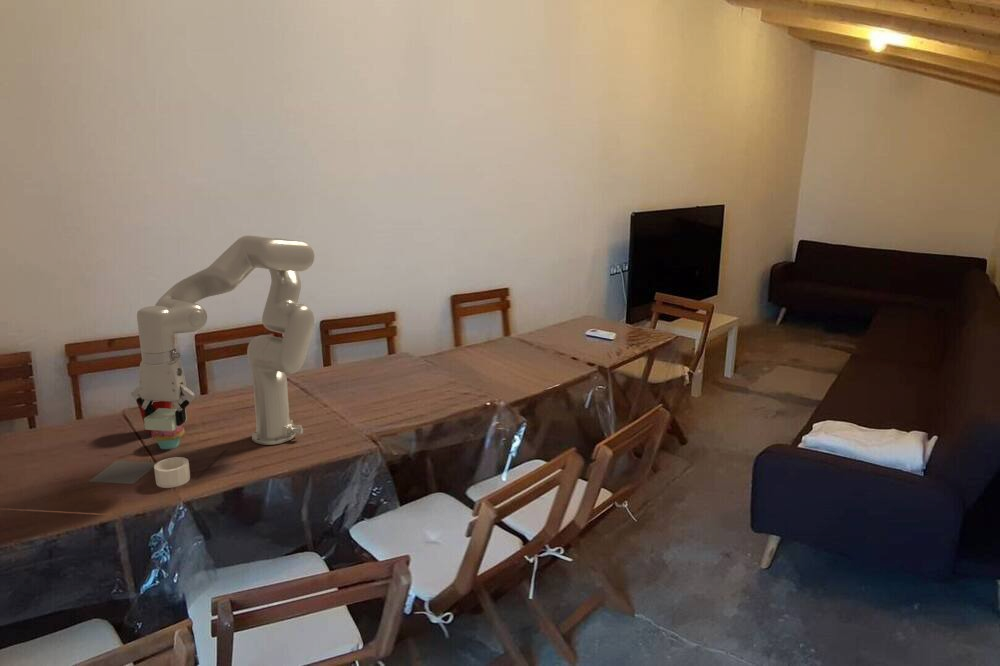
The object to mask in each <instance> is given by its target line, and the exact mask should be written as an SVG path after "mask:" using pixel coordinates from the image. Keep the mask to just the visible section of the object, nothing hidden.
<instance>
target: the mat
mask: <svg viewBox="0 0 1000 666" xmlns="http://www.w3.org/2000/svg"><path fill="white" fill-rule="evenodd" d="M156 463H157V462H153V461H152V462H151V461H149V462H148V461H133V460H132V461H130V460H129V461H128V460H115V461H114V462H113V463H111V464H110V465H108V466H107V467H105V469H103V470H102V471H101V472H99V473H98V474H96V475H95V476H94V477H92V478H91V479H90V480H88V483H100V484H101V483H102V484H103V483H104V484H105V483H106V484H121V485H122V484H124V485H134V484H135V483H137V482H138V481H139V480H140V479H142V478H143V477H144V476H145V475H147V474H148V473H149V472H150V471H151V470H152V469H154V465H155V464H156Z"/></svg>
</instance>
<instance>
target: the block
mask: <svg viewBox="0 0 1000 666" xmlns="http://www.w3.org/2000/svg"><path fill="white" fill-rule="evenodd" d="M175 411H177V409H176V408H171V409H168V408H159V409H157V410H156V411H155V412H153V413H152V414H150V415H148V416H147V417H145V418H144V422H143V424H144V430H146V431H147V430H161V431H173V430H175V429H176V428H177V427H179V426H177V424H176V417H175ZM185 413H186V414H187V411H186V408H185ZM187 419H188V417H187V416H186V420H185V422H186V421H187Z"/></svg>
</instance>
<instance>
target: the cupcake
mask: <svg viewBox="0 0 1000 666" xmlns="http://www.w3.org/2000/svg"><path fill="white" fill-rule="evenodd" d="M151 433H152V434H151V437H152V439H153V440H155V441H156V442H157V444H158V446H159V448H160V449H161V450H171V449H175V448H176V447H178V446H179V444H180V440H181V438H182V437H183V436H184V435H185V428H184V426H183V425H180V426H179V427H177V428H176V429H175V430H173V431H161V430H153V431H152V432H151Z"/></svg>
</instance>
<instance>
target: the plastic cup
mask: <svg viewBox="0 0 1000 666" xmlns="http://www.w3.org/2000/svg"><path fill="white" fill-rule="evenodd" d="M133 399H134V400H135V401H136V399H135V398H134V397H133ZM136 404H137V407H138V409H139V413H140V416H141V419H142V422H143V423H144V418H145V410H144V409H142V406H141V405H140V404H139V403H138V402H137V401H136ZM152 405H154V407H155V411H156V410H157V409H159V408H168V409H172V402H170V401H154V402H153V404H152ZM152 431H153V430H146V432H147V434H148V433H149V434H148V435H150V434H152V433H151V432H152Z"/></svg>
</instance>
